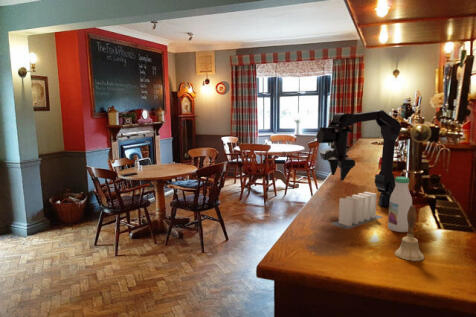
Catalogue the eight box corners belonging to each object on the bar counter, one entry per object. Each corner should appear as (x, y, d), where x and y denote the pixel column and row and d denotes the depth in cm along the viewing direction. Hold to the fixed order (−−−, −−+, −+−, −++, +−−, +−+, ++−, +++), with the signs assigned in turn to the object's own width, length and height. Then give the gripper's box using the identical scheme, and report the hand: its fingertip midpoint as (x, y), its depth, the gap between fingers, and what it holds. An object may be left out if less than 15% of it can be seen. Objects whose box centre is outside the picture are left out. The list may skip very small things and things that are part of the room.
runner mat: (366, 213, 153) (366, 212, 153) (383, 217, 146) (383, 216, 146) (330, 224, 138) (330, 223, 138) (347, 230, 132) (347, 229, 132)
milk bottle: (408, 227, 135) (412, 176, 132) (411, 234, 127) (415, 180, 124) (387, 225, 137) (390, 175, 134) (388, 231, 130) (391, 179, 127)
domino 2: (347, 220, 142) (348, 196, 141) (358, 223, 138) (359, 198, 137) (344, 220, 141) (345, 196, 140) (355, 224, 137) (356, 199, 136)
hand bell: (389, 250, 113) (392, 202, 111) (414, 249, 114) (417, 202, 112) (403, 262, 105) (407, 210, 103) (430, 260, 106) (434, 209, 103)
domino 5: (364, 214, 149) (365, 191, 148) (375, 217, 145) (376, 193, 144) (362, 215, 148) (363, 192, 147) (373, 218, 145) (374, 194, 143)
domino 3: (353, 218, 145) (354, 194, 143) (364, 221, 141) (365, 197, 139) (351, 218, 144) (352, 195, 142) (361, 222, 140) (363, 197, 138)
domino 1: (341, 222, 140) (342, 197, 138) (351, 225, 136) (353, 200, 134) (338, 222, 139) (339, 198, 138) (349, 226, 135) (350, 201, 134)
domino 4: (359, 216, 147) (360, 193, 146) (369, 219, 143) (371, 195, 142) (356, 217, 146) (357, 193, 145) (367, 220, 142) (368, 196, 141)
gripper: (314, 139, 158) (312, 172, 162) (331, 146, 140) (328, 184, 144) (337, 139, 160) (334, 172, 164) (357, 146, 142) (354, 183, 146)
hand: (337, 177), depth 154 cm, fingers open, 9 cm apart
